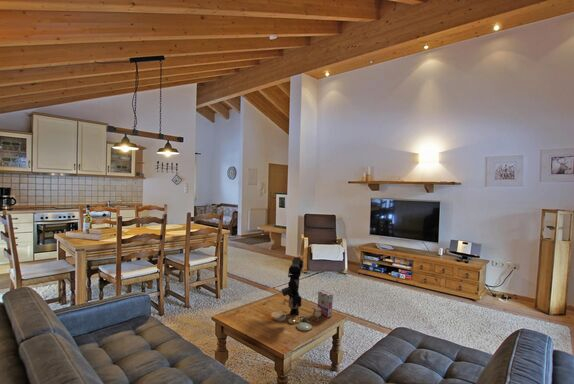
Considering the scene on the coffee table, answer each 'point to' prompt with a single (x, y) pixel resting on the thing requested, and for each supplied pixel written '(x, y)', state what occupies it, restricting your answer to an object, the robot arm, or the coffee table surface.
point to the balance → (304, 320)
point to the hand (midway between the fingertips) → (293, 306)
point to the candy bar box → (325, 303)
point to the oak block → (317, 311)
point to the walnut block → (292, 304)
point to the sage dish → (304, 326)
